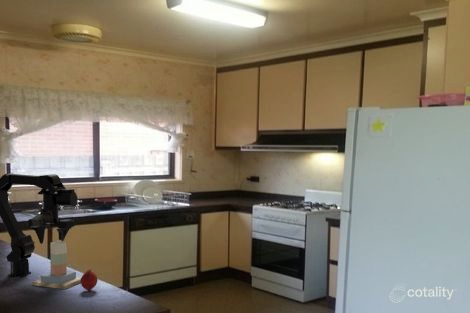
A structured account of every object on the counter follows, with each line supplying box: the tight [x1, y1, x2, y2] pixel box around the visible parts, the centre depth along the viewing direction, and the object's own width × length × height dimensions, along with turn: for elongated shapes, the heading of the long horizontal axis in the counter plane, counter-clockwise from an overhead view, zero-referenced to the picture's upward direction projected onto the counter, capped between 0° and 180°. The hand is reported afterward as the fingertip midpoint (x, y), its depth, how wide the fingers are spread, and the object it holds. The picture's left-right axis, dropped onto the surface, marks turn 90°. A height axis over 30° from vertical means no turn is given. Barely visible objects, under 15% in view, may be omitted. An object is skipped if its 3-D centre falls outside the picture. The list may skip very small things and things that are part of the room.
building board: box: [31, 276, 82, 290], centre depth 180 cm, size 15×11×1 cm
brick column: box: [49, 239, 68, 276], centre depth 179 cm, size 4×4×13 cm
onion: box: [80, 268, 98, 292], centre depth 170 cm, size 6×6×8 cm
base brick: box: [40, 270, 77, 284], centre depth 180 cm, size 9×9×2 cm
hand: (50, 244), depth 188 cm, fingers open, 9 cm apart
